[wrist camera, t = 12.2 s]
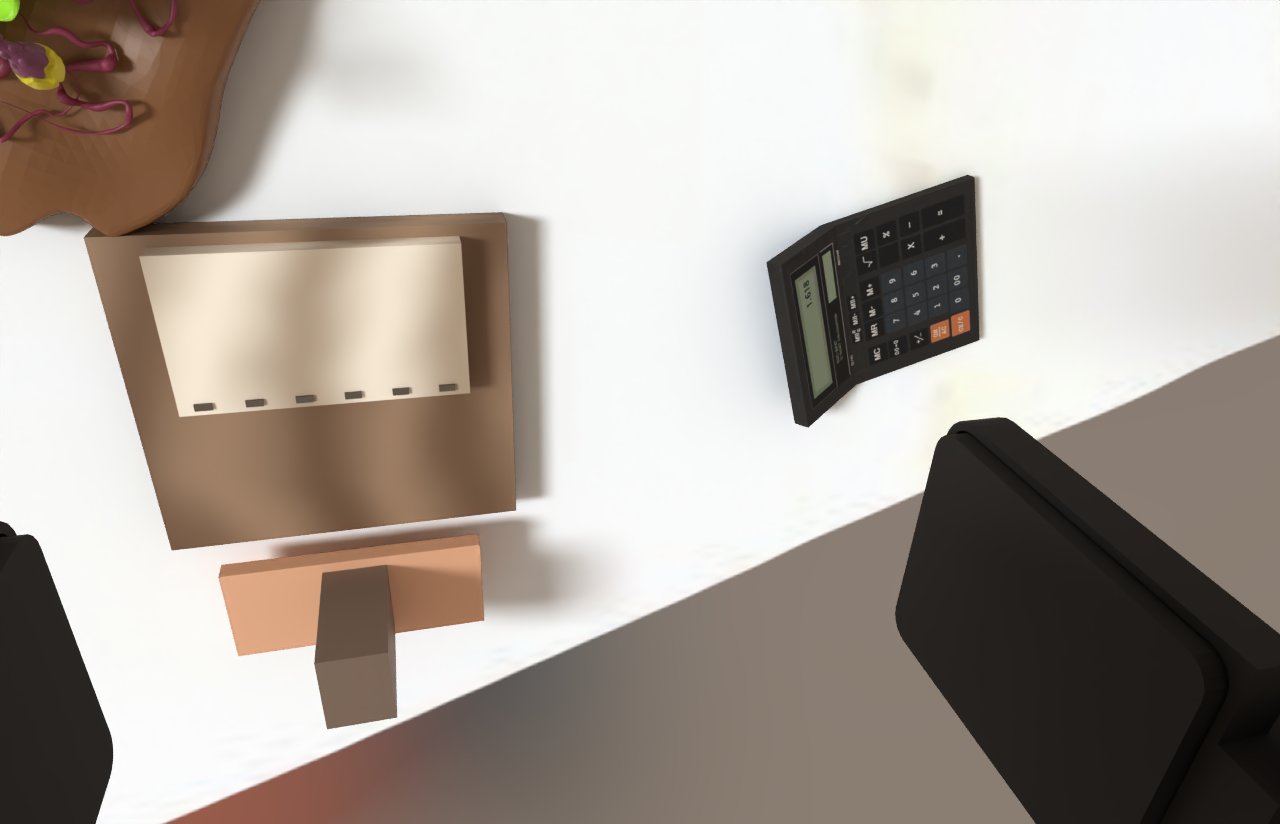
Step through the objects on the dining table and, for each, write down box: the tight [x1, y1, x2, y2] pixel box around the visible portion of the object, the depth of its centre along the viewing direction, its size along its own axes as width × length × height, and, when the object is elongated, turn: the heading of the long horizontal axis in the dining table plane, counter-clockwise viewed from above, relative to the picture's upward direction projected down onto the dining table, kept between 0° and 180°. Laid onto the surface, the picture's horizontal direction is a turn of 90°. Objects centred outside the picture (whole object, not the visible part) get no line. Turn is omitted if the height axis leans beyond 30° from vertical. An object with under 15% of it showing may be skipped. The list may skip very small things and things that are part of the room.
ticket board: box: [84, 213, 516, 550], centre depth 39 cm, size 16×15×3 cm
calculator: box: [767, 175, 979, 427], centre depth 44 cm, size 9×12×3 cm
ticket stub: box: [219, 534, 484, 729], centre depth 41 cm, size 12×5×7 cm, turn 88°
